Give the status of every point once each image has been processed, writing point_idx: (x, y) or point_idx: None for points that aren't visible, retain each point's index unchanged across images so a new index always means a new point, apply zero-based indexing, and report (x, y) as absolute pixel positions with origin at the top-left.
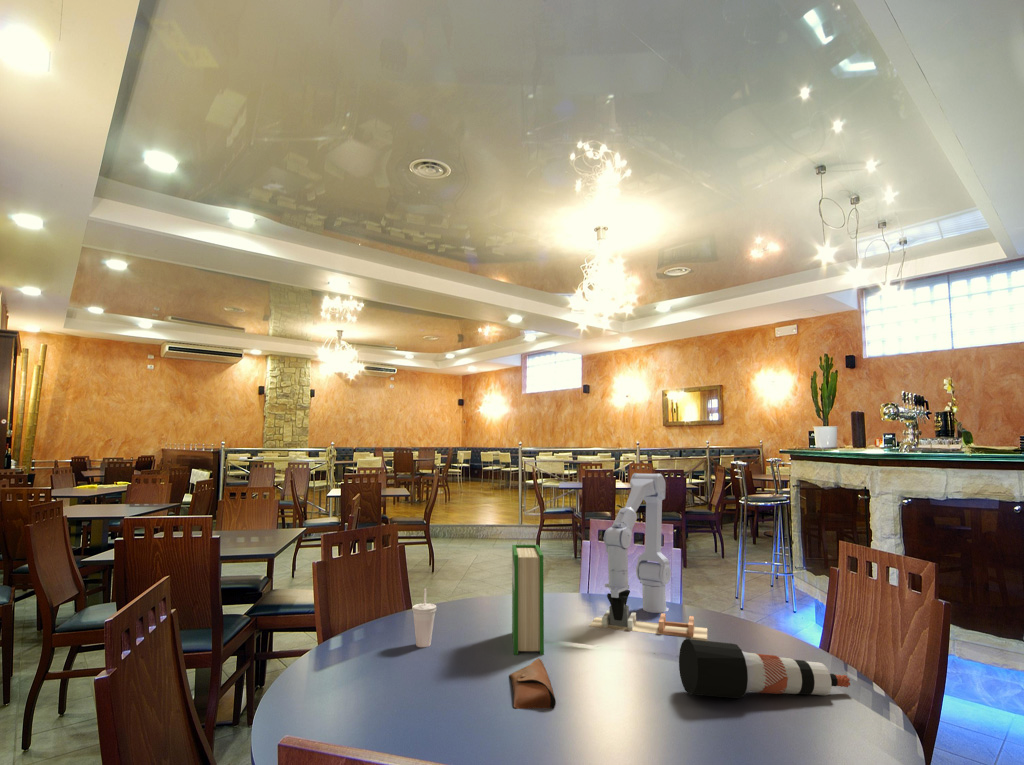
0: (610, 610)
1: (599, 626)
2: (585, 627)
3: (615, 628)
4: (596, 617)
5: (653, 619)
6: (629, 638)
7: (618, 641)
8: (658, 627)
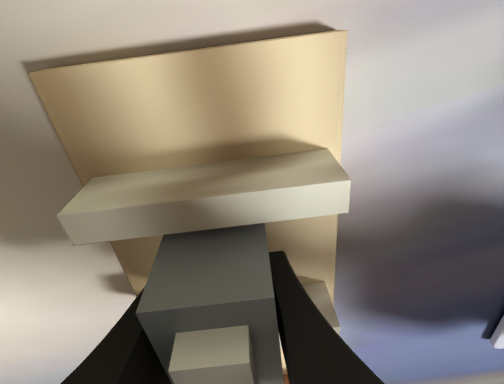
0: (148, 290)
1: (92, 155)
2: (90, 11)
3: (128, 250)
4: (334, 44)
5: (446, 312)
6: (90, 304)
7: (4, 282)
8: None
